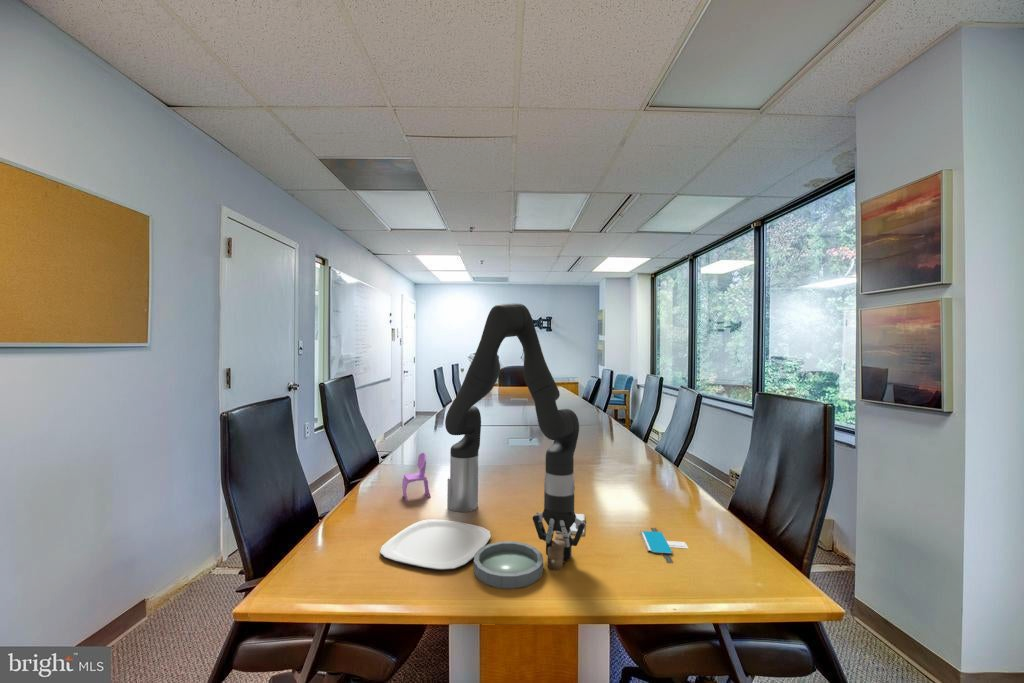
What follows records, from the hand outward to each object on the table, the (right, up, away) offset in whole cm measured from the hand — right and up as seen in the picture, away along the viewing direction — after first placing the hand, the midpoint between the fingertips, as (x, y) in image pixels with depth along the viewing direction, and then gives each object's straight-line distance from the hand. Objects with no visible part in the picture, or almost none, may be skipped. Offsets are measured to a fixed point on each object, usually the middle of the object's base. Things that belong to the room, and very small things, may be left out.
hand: (558, 558), depth 104 cm
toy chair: (-46, -1, +43) cm, 62 cm away
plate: (-32, -1, +7) cm, 32 cm away
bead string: (0, 0, 0) cm, 0 cm away
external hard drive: (+6, -1, +20) cm, 21 cm away
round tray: (-13, 0, -5) cm, 13 cm away
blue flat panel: (+30, -1, +9) cm, 31 cm away
